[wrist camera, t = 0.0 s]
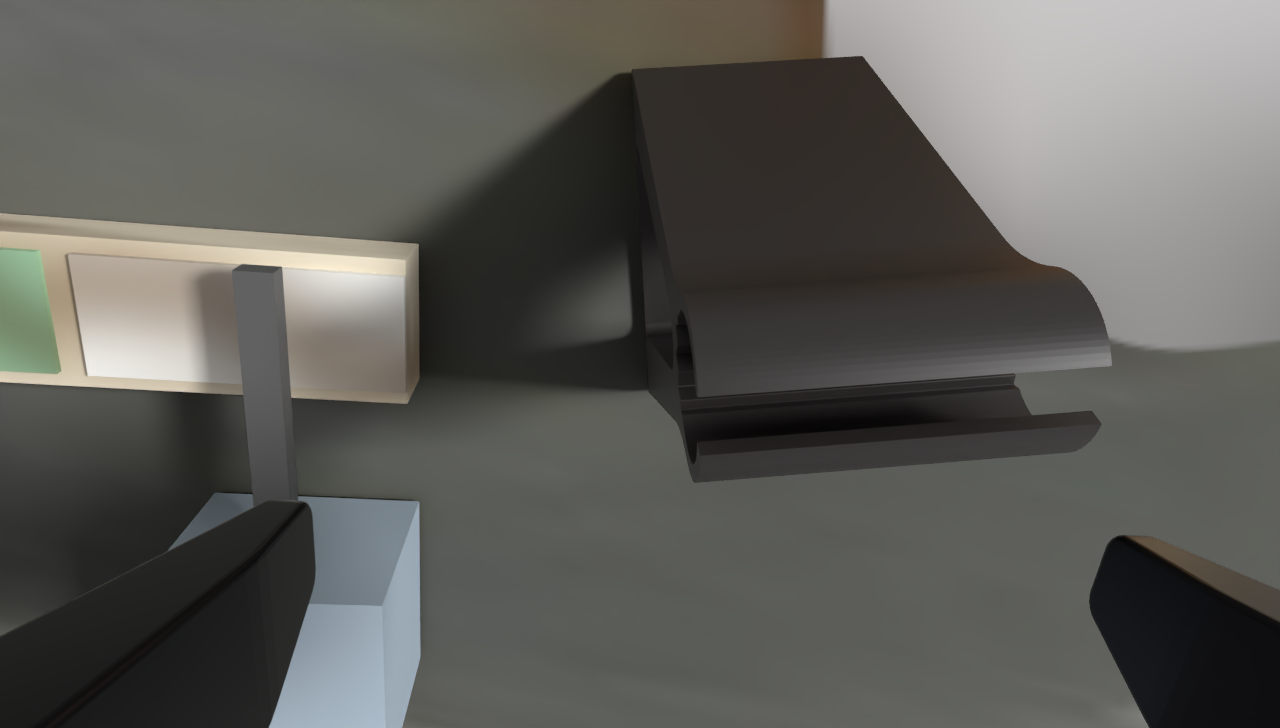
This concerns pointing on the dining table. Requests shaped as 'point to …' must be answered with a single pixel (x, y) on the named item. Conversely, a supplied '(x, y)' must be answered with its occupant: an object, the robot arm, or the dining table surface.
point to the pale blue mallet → (325, 546)
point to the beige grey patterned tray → (201, 308)
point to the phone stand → (834, 282)
